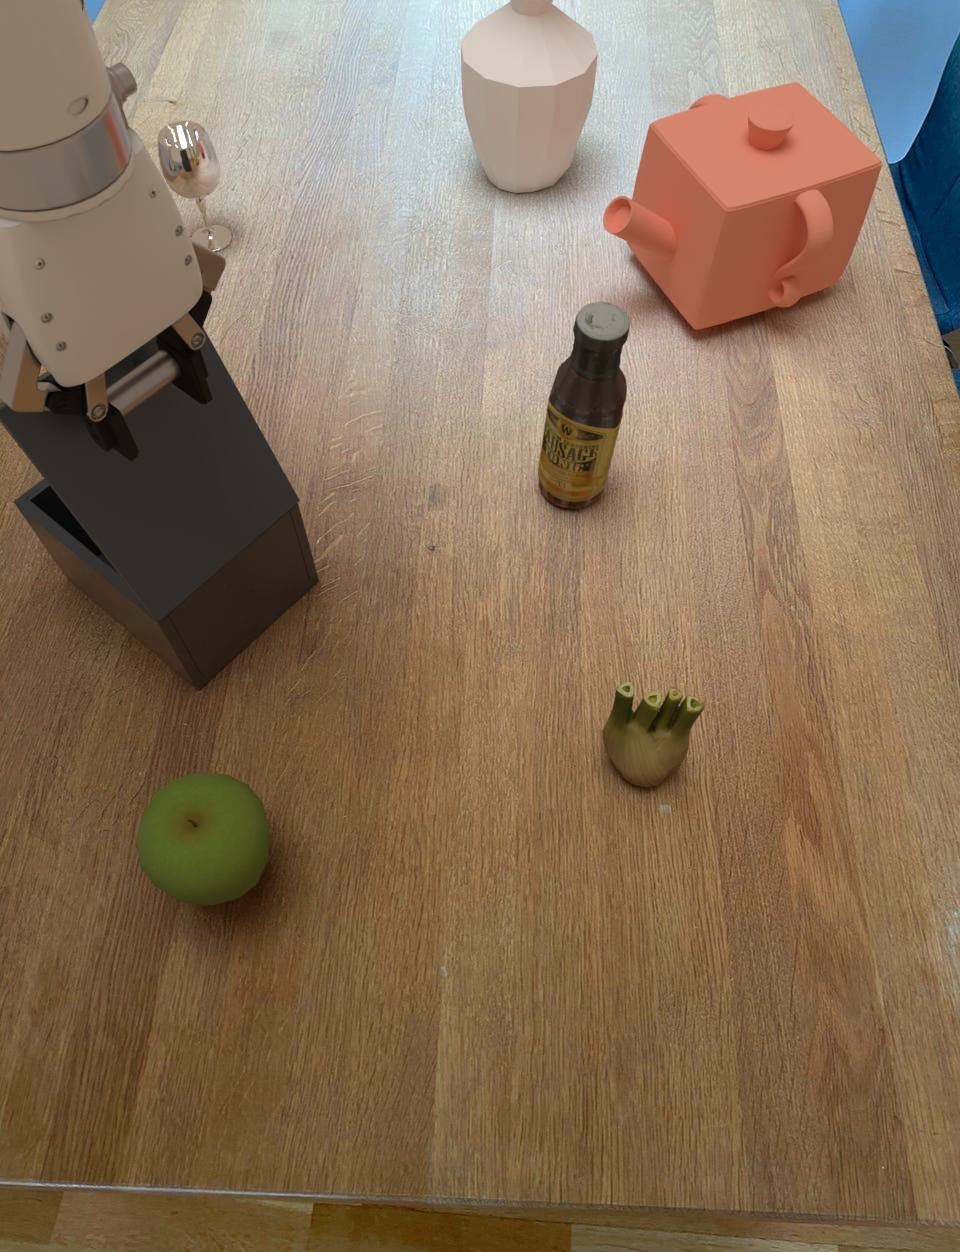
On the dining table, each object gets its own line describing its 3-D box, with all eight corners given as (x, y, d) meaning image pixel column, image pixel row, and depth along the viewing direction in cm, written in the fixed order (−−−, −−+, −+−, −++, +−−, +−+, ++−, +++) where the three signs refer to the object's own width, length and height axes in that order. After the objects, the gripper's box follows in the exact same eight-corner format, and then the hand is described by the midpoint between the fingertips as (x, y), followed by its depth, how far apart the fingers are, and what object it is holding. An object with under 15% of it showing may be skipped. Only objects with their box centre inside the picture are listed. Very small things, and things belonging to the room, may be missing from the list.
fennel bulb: (589, 759, 73) (608, 692, 62) (627, 715, 75) (651, 642, 64) (651, 806, 71) (680, 745, 60) (688, 760, 73) (723, 692, 62)
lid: (-10, 409, 54) (25, 425, 51) (173, 283, 59) (216, 291, 56) (153, 618, 66) (191, 642, 63) (294, 498, 71) (335, 514, 68)
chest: (67, 578, 81) (12, 501, 71) (188, 481, 86) (153, 397, 77) (198, 691, 76) (158, 623, 66) (319, 580, 81) (298, 503, 71)
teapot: (646, 393, 92) (681, 236, 76) (544, 252, 102) (557, 88, 86) (859, 320, 97) (931, 159, 81) (741, 192, 107) (786, 28, 92)
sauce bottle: (523, 493, 86) (535, 323, 68) (560, 449, 88) (581, 275, 71) (585, 526, 84) (613, 361, 67) (620, 481, 86) (656, 310, 69)
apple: (301, 905, 67) (271, 860, 57) (184, 946, 66) (132, 907, 56) (273, 796, 71) (240, 735, 61) (162, 832, 70) (109, 776, 60)
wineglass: (207, 264, 101) (176, 160, 91) (173, 239, 103) (139, 135, 92) (248, 238, 103) (223, 133, 93) (215, 214, 105) (186, 110, 95)
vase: (556, 125, 113) (574, -121, 92) (604, 196, 107) (636, -51, 85) (444, 150, 111) (436, -96, 89) (487, 224, 104) (489, -23, 83)
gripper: (134, 28, 46) (218, 316, 62) (-182, 198, 40) (3, 471, 56) (239, 87, 44) (299, 370, 60) (-77, 277, 37) (84, 539, 53)
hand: (156, 417), depth 57 cm, fingers closed on lid, 5 cm apart
